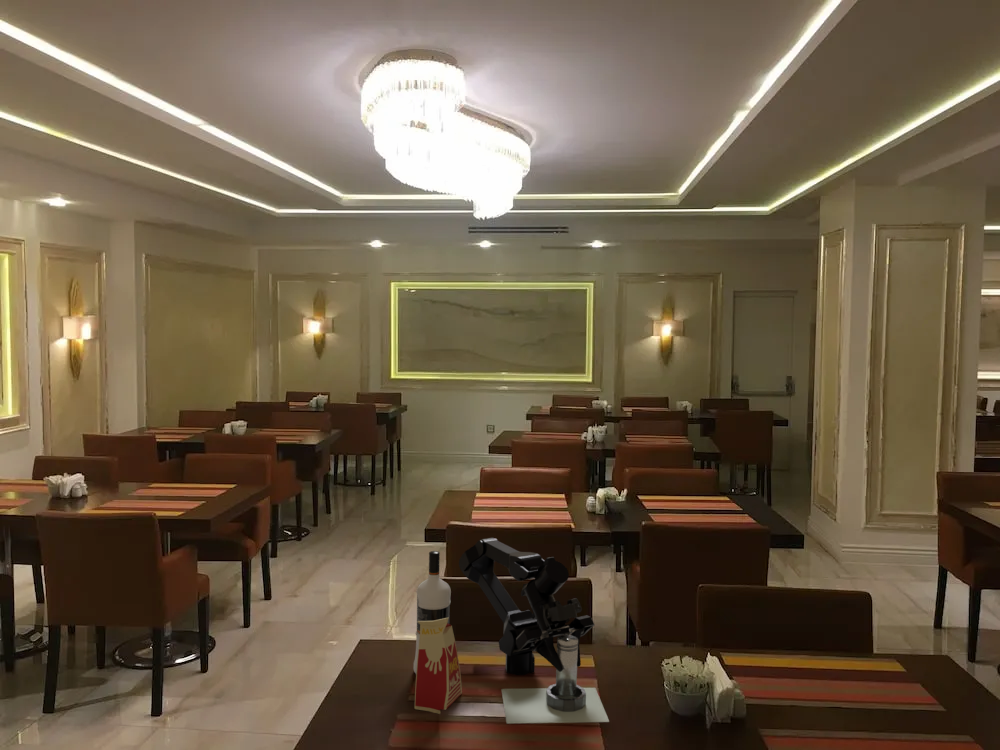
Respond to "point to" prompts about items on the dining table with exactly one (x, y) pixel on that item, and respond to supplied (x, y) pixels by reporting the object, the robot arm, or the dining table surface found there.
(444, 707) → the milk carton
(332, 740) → the dining table surface
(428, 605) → the vodka
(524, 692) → the plate
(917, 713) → the dining table surface
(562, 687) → the silver upright cylinder
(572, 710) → the ring collar
